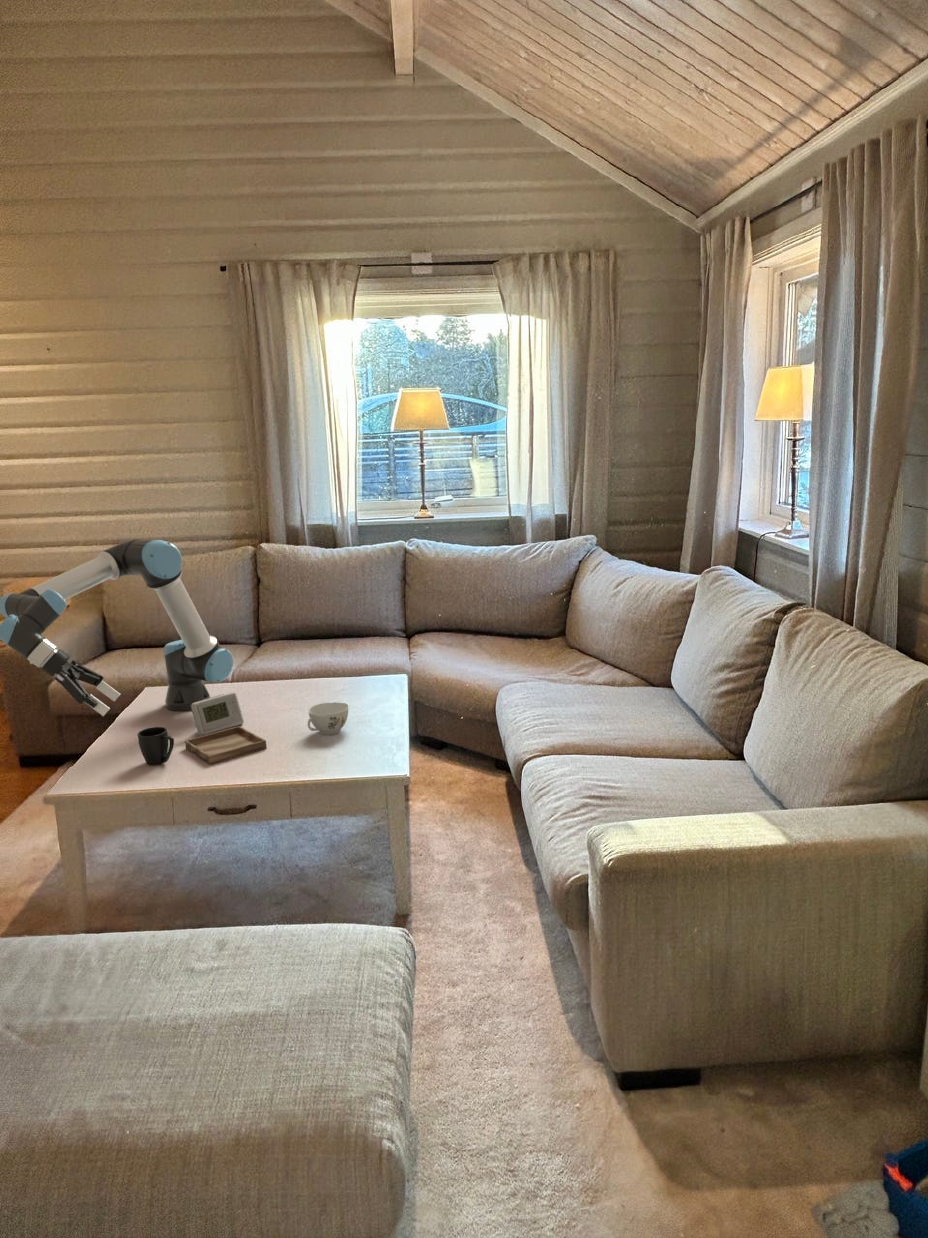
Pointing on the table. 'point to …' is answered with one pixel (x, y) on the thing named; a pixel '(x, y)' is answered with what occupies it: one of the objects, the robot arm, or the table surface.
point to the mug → (155, 745)
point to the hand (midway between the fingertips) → (112, 705)
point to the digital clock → (217, 713)
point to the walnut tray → (225, 745)
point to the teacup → (328, 717)
